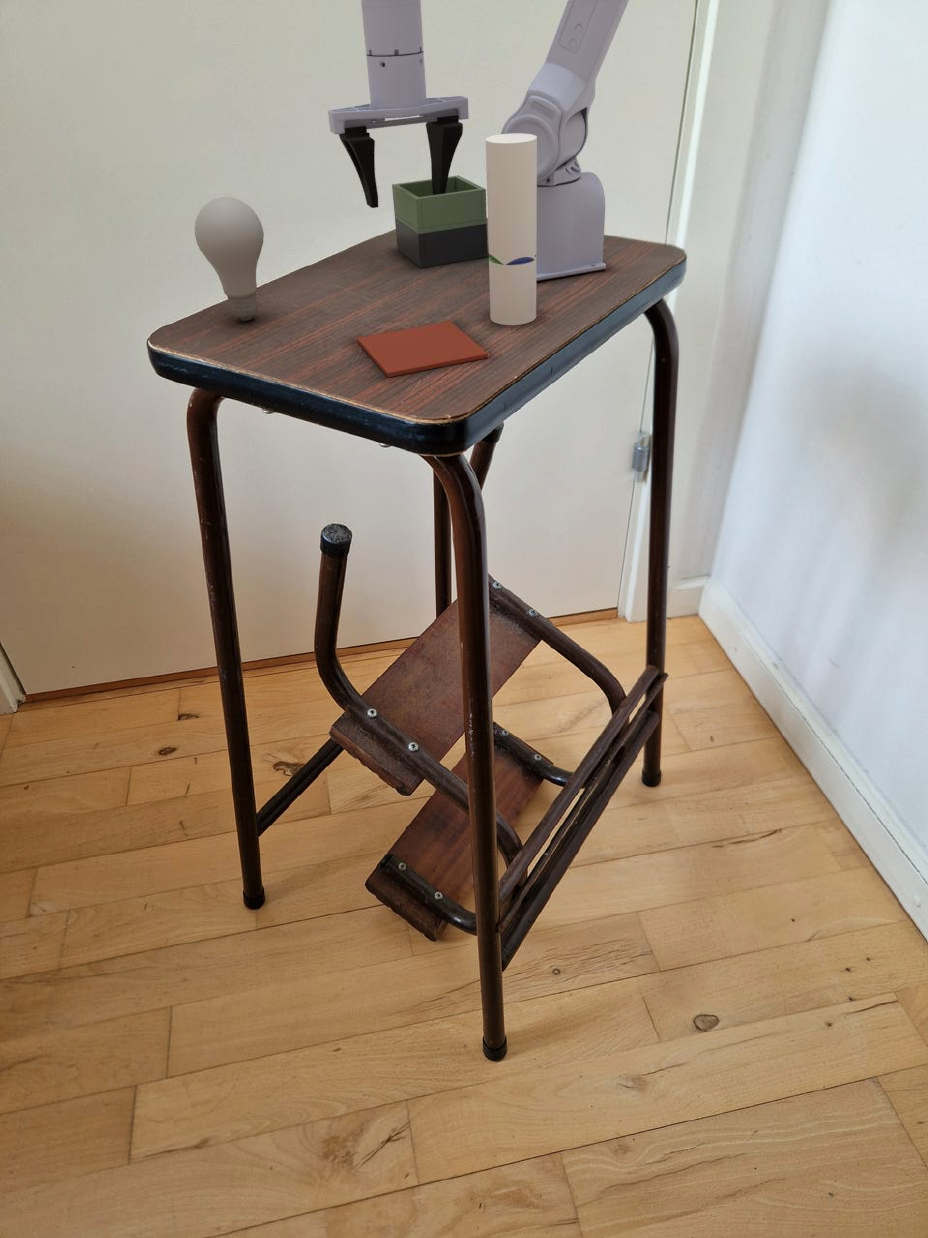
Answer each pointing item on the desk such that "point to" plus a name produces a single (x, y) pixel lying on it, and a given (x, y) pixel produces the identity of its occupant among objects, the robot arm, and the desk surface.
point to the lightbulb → (232, 250)
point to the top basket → (439, 205)
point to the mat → (421, 348)
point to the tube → (512, 226)
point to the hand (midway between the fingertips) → (406, 200)
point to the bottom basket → (442, 244)
